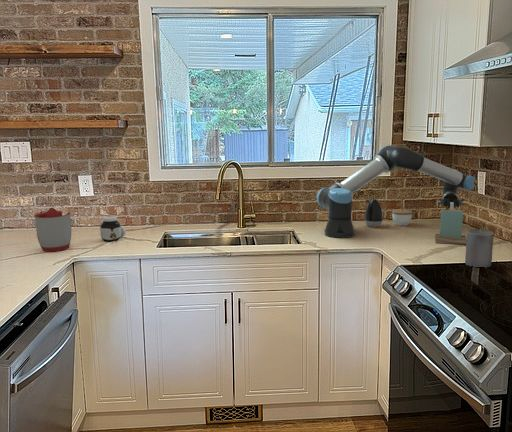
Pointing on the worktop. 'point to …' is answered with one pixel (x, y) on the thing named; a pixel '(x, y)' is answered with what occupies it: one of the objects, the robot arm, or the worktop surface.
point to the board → (450, 239)
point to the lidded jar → (401, 217)
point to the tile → (451, 223)
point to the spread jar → (111, 229)
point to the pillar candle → (479, 248)
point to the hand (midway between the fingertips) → (452, 206)
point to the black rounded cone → (373, 213)
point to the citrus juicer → (53, 230)
